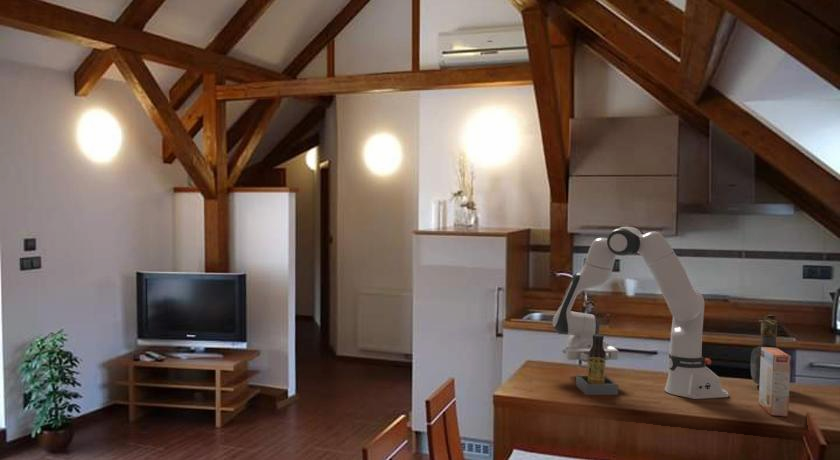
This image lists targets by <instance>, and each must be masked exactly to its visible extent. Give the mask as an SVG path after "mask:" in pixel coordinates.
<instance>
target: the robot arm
mask: <svg viewBox="0 0 840 460" xmlns="http://www.w3.org/2000/svg"><path fill="white" fill-rule="evenodd" d="M634 254H639V255H640V256H641V257H642V258H643V259H644V261H645V263H646V266H647V267H648V268H649V270H650V273H651V274H652V276H653V278H654V279H655V281H656V283H657V285H658V286H659V289H660V292H661V294H662V296H663V299H664V301H665V302H666V305H667V307H668V309H669V312H670V314H671V316H672V322H671V327H670V328H671V329H670V342H669V343H670V345H669V346H670V348H669V349H670V350H669V354H668V361H667V362H668V374H667V380H666V384H665V387H664V391H665V392H666V393H669V394H671V395H674V396H678V397H679V396H680V397H685V398H688V399H694V400H703V399H717V398H728V397H729V396H730V395H729V392H728V391H727V390H726V389H723V383H722V380H721V378H720V377H719V376H718V375H717V374H716V373H715V372H714V371H712V370H711V369H710V368H709V367H708V366H706V364H707V365H711V364H712V360H711V358H708V357H704V356H702V351H703V349H702V347H703V346H702V345H703V330H704V315H705V304H706V303H705V298H704V296H703V294H702V293H701V292H700V291H699V290H697V289H695V288H694V287H693V285H692V283H691V281H690V278H689V276H688V274H687V272H686V269H685V268H684V266H683V265H682V262H681V261H680V259H679V258H678V255H677V254H676V253H675V251H674V249H673V247H672V245H670V243H669V242H668V240H667V239H666V238H665V237H664V235H662V233H661V232H658V231H649V232H647V233H644V232H643V230H641V228H639V227H637V226H634V225H633V226H632V225H629V226H621V227H618V228H615V229H613V230H612V231H611V232H610V233H609V234H608V236H607V238H606V237H598V238H595V239H594V240H593V241H592V242H591V245H590V247H589V249H588V252H587V254H586V258H585V261H584V265H583V267H582V268H581V270H579V271H578V272H577V273H575V274H574V275H573V276H572V277H571V279H570V281H569V284H568V286H567V288H566V290H565V292H564V295H563V297H562V300H561V302H560V304H559V306H558V308H557V310H556V312H555V313H554V315H553V318H552V323H551V324H552V328H553V330H554V331H555V332H556V333H557V334H559V335H565V336H566V335H567V336H568V335H569V336H568V337H567V340H566V346H567V347H565V349H562V350H561V352H562V353H563V354H565V358H566V359H567V360H569V361H571V360H572V361H576V360H579V361H580V360H581V361H582V362H584V363H589V359H590V356H589V351H590V350H591V348H592V346H593V335H594V334H599V333H600V323H599V320H598V318H597V316H595V315H594V314H591V313H585V312H576V311H573V310H572V307H573V306H574V303H575V300H576V298H577V296H578V295H579V293H581V292H583V291H586V290H589V289H594V288H598V287H599V288H600V287H601V286H603V285H605V284H606V283H608V282H609V280H610V278H611V277H612V276H611V275H612V273H613V270H614V265H615V262H616V258H617V257H618V256H622V257H623V256H629V255H634ZM603 349H604V351H605V353H606V356H605V360H606V361H609V360H612V361H613V360H614V361H617V360H618V359H619V357H620V356H619V349H617V348H616V347H614V346H613V345H610V343H608V342H606V341H603Z"/></svg>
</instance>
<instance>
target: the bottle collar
mask: <svg viewBox="0 0 840 460" xmlns="http://www.w3.org/2000/svg"><path fill="white" fill-rule="evenodd" d="M575 377H576V379H575V386H576V388H578V389H579V390H580V391H581V392H582V393H583V394H584V395H586V396H618V395H619V384H618V383H617V382H615V381H614V380H613V379H612V378H610V377H609V376H607V375H605V383H604V384H589V383H588V375H576V376H575Z"/></svg>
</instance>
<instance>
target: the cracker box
mask: <svg viewBox="0 0 840 460" xmlns="http://www.w3.org/2000/svg"><path fill="white" fill-rule="evenodd" d="M780 349H781V348H779V349H778V347H777V348H770V347H761V362H760V386H759V390H758V405H759V406H760V407H761V408H762V409H763V410H765V412H767V413H768V414H769V416H774V417H784V418H785V417H789V401H790V382H791V381H790V380H791V363H792V362H791V361H792V356H791V355H790V354H788V353H786V352H784V351H783V350H782V349H781V350H782V351H781V350H780Z"/></svg>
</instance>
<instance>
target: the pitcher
mask: <svg viewBox="0 0 840 460" xmlns="http://www.w3.org/2000/svg"><path fill="white" fill-rule="evenodd" d="M764 313H765V314H766V316H764V318H761V319H758V321H759V323H760V336H761V345H759V346H757V347H754V348H753V349H752V351H751V355H750V376H751V378H752V381H753V382H754V383H755V384H757V385H756V389H757V390H758V391H759V386H760V362H761V347H770V348H778V347H777V336H778V326H779V324H781V322H782V321H781V320H776V319H778V318H777V317H776V315H773V314H772V313H769V312H768V311H765V312H764ZM778 349H780V350H781V351H783V350H782V349H781V348H778Z"/></svg>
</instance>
